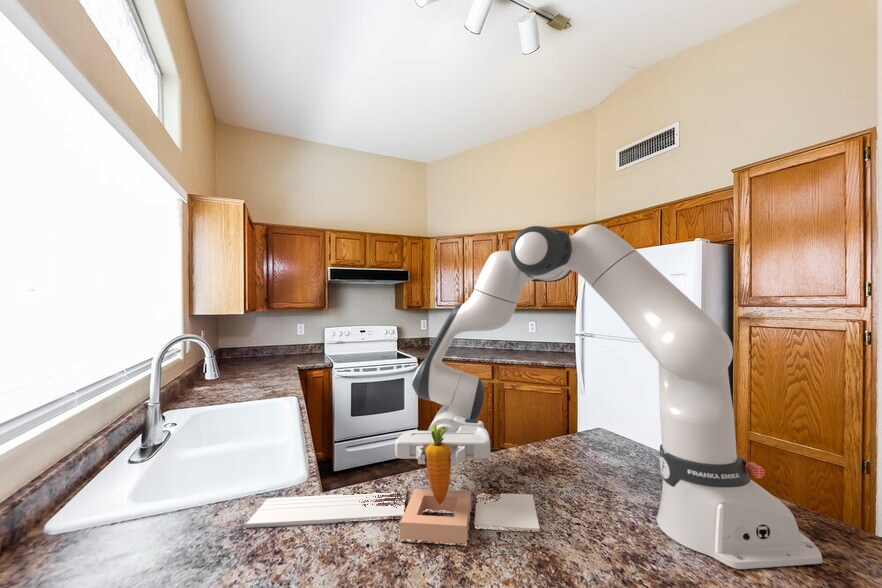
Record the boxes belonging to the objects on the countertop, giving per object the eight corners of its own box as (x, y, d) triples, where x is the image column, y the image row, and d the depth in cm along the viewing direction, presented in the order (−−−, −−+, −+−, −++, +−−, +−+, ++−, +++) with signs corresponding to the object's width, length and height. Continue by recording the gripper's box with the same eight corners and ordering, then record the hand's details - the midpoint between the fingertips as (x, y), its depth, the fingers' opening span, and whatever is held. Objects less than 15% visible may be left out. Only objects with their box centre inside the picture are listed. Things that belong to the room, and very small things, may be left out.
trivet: (532, 498, 77) (532, 494, 77) (539, 533, 65) (539, 528, 65) (477, 496, 78) (477, 492, 78) (474, 529, 66) (474, 524, 66)
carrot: (429, 496, 71) (426, 421, 72) (454, 497, 71) (450, 421, 71) (425, 510, 66) (422, 429, 67) (451, 511, 66) (447, 429, 66)
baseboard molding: (272, 499, 81) (245, 532, 69) (272, 486, 81) (245, 516, 69) (407, 491, 82) (404, 522, 70) (407, 479, 82) (404, 508, 70)
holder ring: (471, 508, 74) (470, 491, 74) (467, 546, 62) (466, 526, 62) (415, 505, 75) (414, 488, 75) (400, 542, 63) (400, 522, 64)
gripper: (402, 421, 83) (385, 443, 70) (489, 421, 80) (489, 443, 67) (403, 448, 83) (386, 476, 69) (491, 449, 80) (491, 477, 66)
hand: (437, 460), depth 68 cm, fingers closed on carrot, 5 cm apart
